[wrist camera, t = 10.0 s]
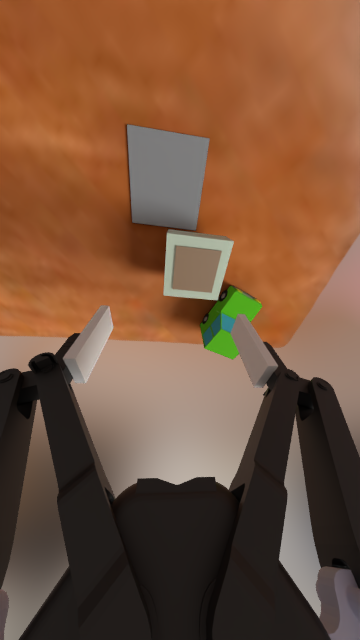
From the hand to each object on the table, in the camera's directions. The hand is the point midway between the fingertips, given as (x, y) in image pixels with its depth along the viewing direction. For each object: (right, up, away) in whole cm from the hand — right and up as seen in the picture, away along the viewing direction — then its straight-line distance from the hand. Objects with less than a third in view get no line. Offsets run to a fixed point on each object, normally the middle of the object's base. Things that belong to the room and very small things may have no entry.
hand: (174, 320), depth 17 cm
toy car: (+13, +3, +25) cm, 28 cm away
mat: (-2, +23, +10) cm, 25 cm away
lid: (+3, +11, +14) cm, 18 cm away
